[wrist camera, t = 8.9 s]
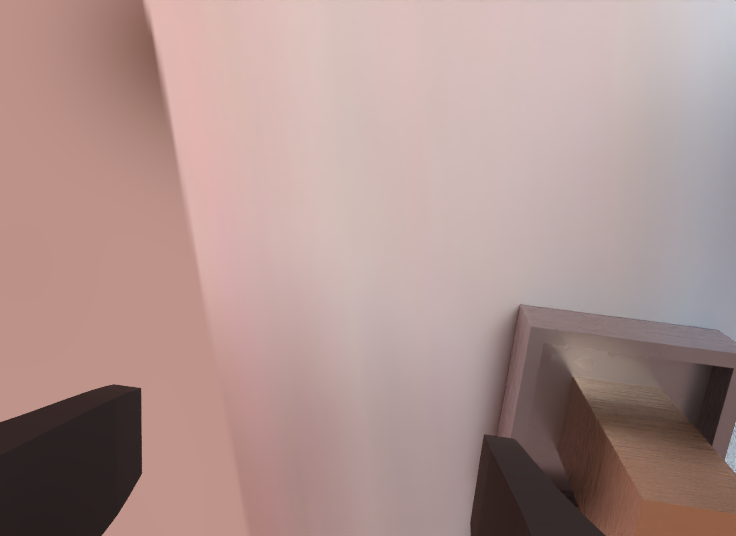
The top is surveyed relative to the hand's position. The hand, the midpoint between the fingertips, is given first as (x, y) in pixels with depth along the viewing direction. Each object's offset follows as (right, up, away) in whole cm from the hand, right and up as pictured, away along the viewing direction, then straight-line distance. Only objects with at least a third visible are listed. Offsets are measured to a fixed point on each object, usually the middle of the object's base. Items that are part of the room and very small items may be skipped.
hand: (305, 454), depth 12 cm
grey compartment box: (+9, -6, +11) cm, 16 cm away
